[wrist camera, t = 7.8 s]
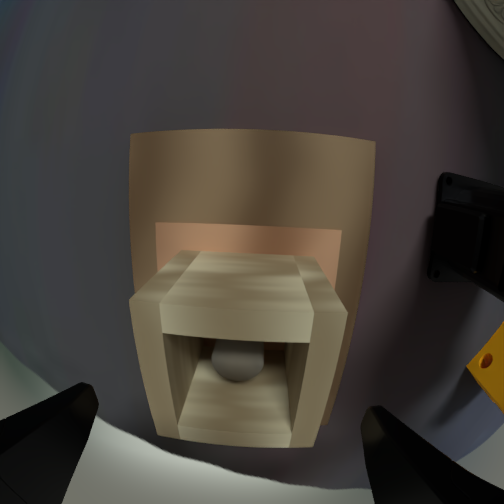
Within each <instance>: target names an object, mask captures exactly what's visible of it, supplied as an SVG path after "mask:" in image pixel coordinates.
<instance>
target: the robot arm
mask: <svg viewBox="0 0 504 504" xmlns="http://www.w3.org/2000/svg"><path fill="white" fill-rule="evenodd" d="M446 178H448V181H449V182H448V184H447V183H446ZM436 270H437V272H436V274H435V275H434V272H435V271H436ZM427 276H428V278H429V279H430V280H432V281H434V282H473V283H474V284H476V285H478V286H479V287H481V288H482V289H484V290H486V291H487V292H489V293H490V294H492V295H493V296H495V297H496V298H498V299H500V300H501V301H503V302H504V188H503V187H500V186H497V185H493V184H490V183H487V182H483V181H480V180H476V179H473V178H469V177H465V176H462V175H458V174H454V173H449V172H443V173H442V174H441V175H440V178H439V191H438V203H437V208H436V216H435V225H434V232H433V239H432V246H431V255H430V261H429V266H428V271H427ZM98 406H99V403H98V399H97V397H96V394H95V391H94V389H93V387H92V385H90V384H87V383H83V382H81V383H78V384H76V385H74V386H72V387H70V388H68V389H66V390H64V391H62V392H60V393H58V394H56V395H54V396H52V397H50V398H48V399H46V400H44V401H41V402H39V403H38V404H35V405H33V406H31V407H29V408H27V409H24V410H22V411H20V412H18V413H16V414H14V415H12V416H9V417H7V418H6V419H2V420H0V504H61V503H62V501H63V499H64V496H65V493H66V491H67V488H68V486H69V483H70V481H71V478H72V476H73V473H74V471H75V469H76V466H77V464H78V461H79V459H80V457H81V455H82V452H83V450H84V448H85V445H86V443H87V440H88V438H89V435H90V431H91V428H92V425H93V422H94V419H95V416H96V413H97V410H98ZM361 434H362V441H363V449H364V457H365V464H366V469H367V474H368V478H369V482H370V486H371V490H372V494H373V498H374V502H375V504H504V490H503V489H501V488H499V487H497V486H495V485H493V484H490V483H489V482H487V481H485V480H483V479H481V478H479V477H477V476H476V475H474V474H472V473H471V472H469V471H467V470H466V469H464V468H463V467H461V466H460V465H459V464H457V463H456V462H454V461H452V460H451V459H450V458H449V457H447V456H446V455H445V454H443V453H442V452H441V451H439V450H438V449H437V448H435V447H434V446H433V445H431V444H430V443H429V442H427V441H426V440H425V439H423V438H422V437H421V436H419V435H418V434H417V433H415V432H414V431H413V430H412V429H410V428H409V427H408V426H406V425H405V424H404V423H402V422H401V421H400V420H399V419H397V418H396V417H395V416H394V415H392V414H391V413H390V412H388V411H387V410H386V409H385V408H383V407H382V406H379V405H378V406H370V407H369V408H368V409H367V411H366V413H365V415H364V418H363V420H362V423H361Z"/></svg>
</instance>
